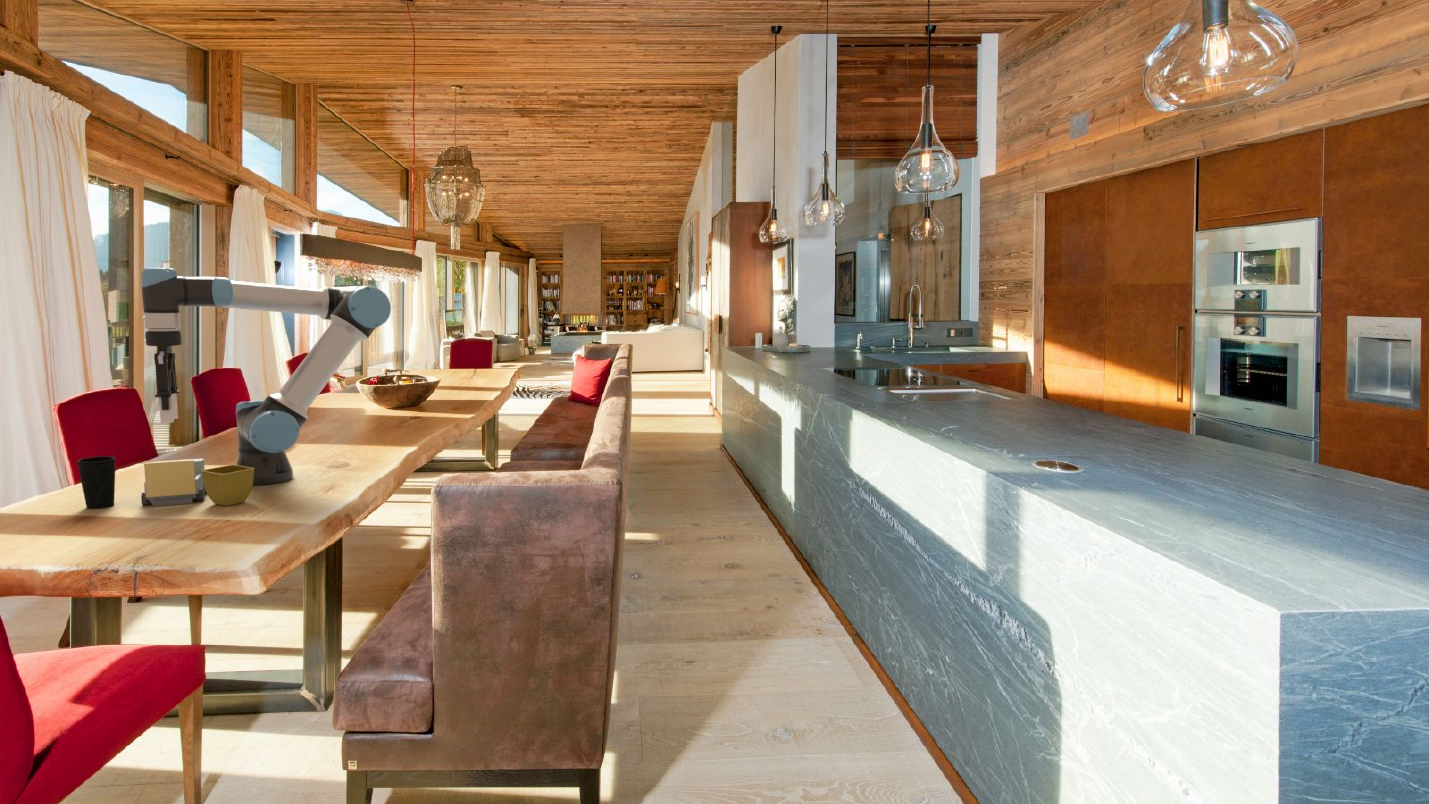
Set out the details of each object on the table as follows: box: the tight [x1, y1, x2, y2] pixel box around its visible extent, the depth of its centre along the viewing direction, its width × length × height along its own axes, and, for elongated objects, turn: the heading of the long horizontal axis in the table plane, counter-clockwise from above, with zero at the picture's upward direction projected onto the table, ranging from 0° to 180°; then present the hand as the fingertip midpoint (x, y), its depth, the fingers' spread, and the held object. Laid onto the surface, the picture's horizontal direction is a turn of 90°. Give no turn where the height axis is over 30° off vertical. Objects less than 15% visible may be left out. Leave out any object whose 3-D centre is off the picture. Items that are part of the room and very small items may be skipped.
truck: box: [140, 458, 207, 507], centre depth 215 cm, size 13×14×9 cm
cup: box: [76, 455, 117, 510], centre depth 207 cm, size 8×8×12 cm
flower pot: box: [201, 464, 254, 507], centre depth 211 cm, size 9×9×9 cm
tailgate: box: [143, 459, 197, 499], centre depth 208 cm, size 10×1×9 cm, turn 115°
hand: (169, 420), depth 211 cm, fingers open, 6 cm apart
